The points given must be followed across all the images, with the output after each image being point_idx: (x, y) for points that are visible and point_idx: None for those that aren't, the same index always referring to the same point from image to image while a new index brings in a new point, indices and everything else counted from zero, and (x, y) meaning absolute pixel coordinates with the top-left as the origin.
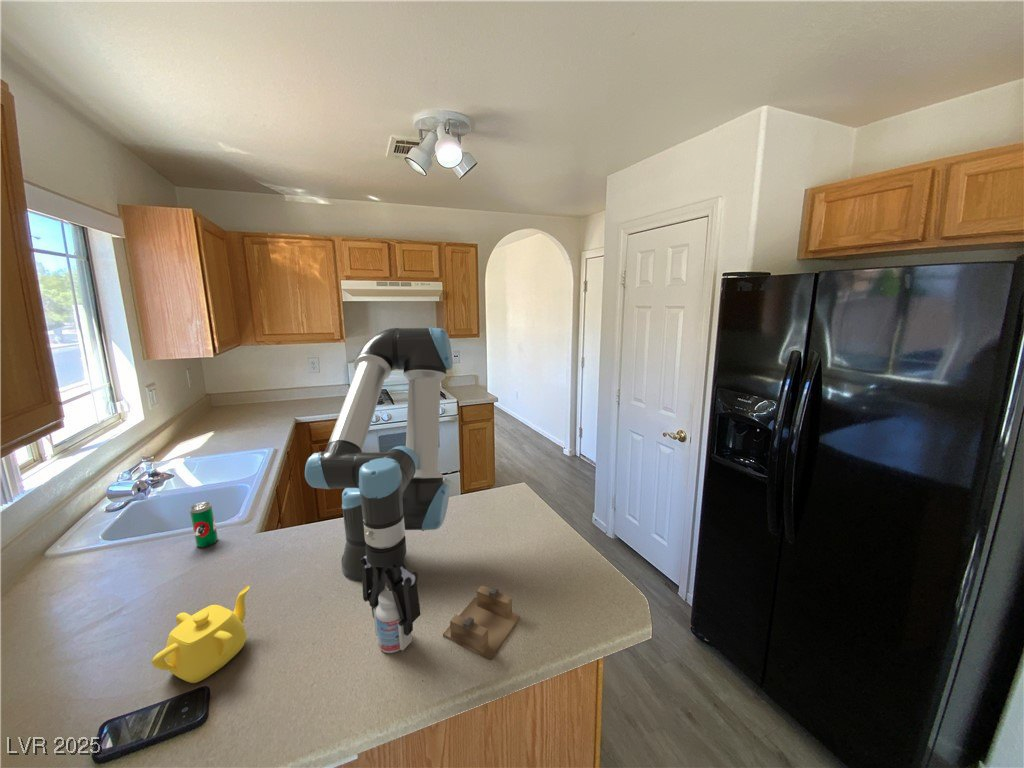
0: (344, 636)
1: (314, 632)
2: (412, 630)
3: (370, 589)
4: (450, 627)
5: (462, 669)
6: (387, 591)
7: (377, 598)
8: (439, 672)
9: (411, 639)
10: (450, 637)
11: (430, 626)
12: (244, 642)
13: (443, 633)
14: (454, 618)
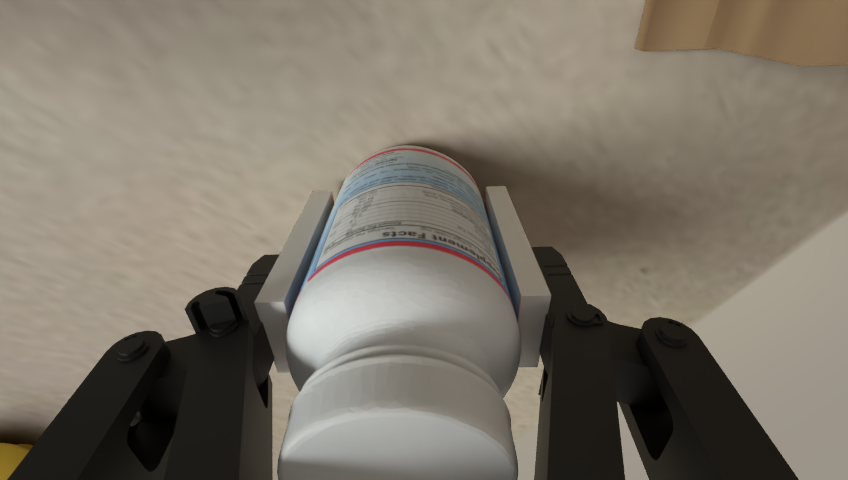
0: (205, 286)
1: (96, 325)
2: (555, 252)
3: (141, 465)
4: (757, 55)
5: (809, 159)
6: (329, 474)
7: (265, 420)
8: (700, 218)
9: (506, 193)
10: (702, 47)
11: (520, 27)
12: (14, 460)
13: (645, 45)
14: (840, 20)
